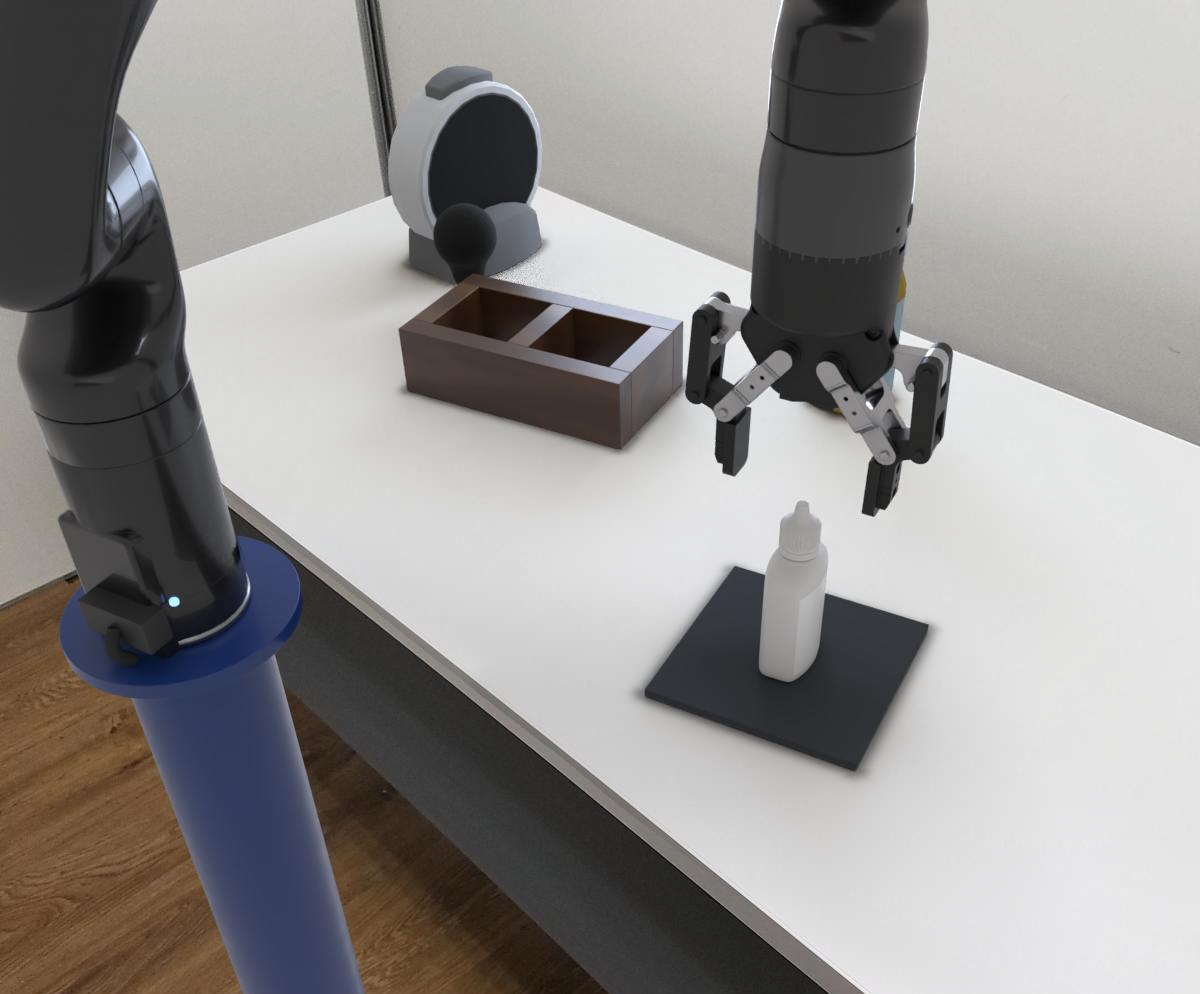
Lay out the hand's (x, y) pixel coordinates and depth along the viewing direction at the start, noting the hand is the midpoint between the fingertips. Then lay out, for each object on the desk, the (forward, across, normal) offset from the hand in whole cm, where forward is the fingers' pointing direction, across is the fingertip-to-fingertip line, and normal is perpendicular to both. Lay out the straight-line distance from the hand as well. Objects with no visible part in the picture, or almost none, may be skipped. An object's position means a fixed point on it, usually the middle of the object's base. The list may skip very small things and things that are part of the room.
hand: (802, 488), depth 73 cm
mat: (+14, 0, 0) cm, 14 cm away
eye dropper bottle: (+13, 0, 0) cm, 13 cm away
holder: (+14, -32, +23) cm, 42 cm away
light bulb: (+14, -46, +33) cm, 58 cm away
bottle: (+14, -8, +33) cm, 37 cm away
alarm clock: (+14, -52, +43) cm, 69 cm away
